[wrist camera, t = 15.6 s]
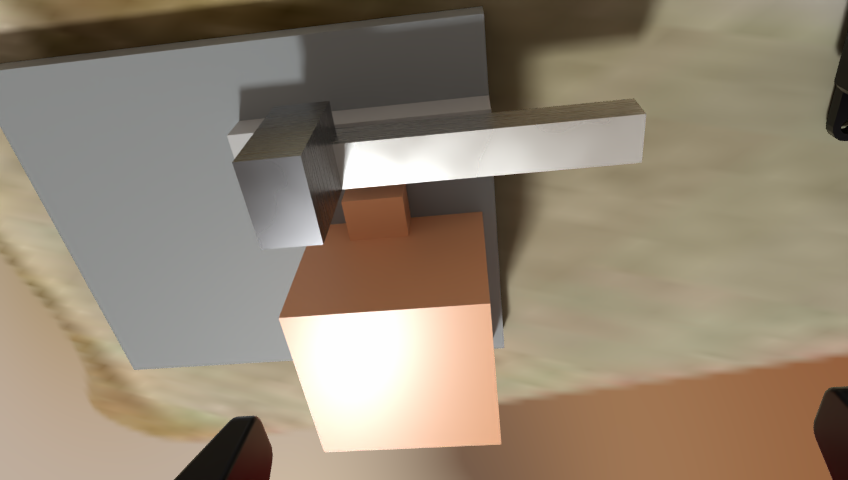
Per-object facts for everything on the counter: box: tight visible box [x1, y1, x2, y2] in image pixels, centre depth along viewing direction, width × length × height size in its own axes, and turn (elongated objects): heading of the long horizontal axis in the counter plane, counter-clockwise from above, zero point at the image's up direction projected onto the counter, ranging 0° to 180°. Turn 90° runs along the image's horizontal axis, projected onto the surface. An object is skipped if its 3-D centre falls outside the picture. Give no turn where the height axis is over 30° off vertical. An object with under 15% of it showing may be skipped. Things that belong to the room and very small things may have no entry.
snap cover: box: [279, 184, 501, 452], centre depth 19 cm, size 6×8×5 cm
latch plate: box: [0, 6, 504, 370], centre depth 21 cm, size 16×13×2 cm
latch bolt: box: [232, 98, 646, 250], centre depth 15 cm, size 10×2×4 cm, turn 97°
